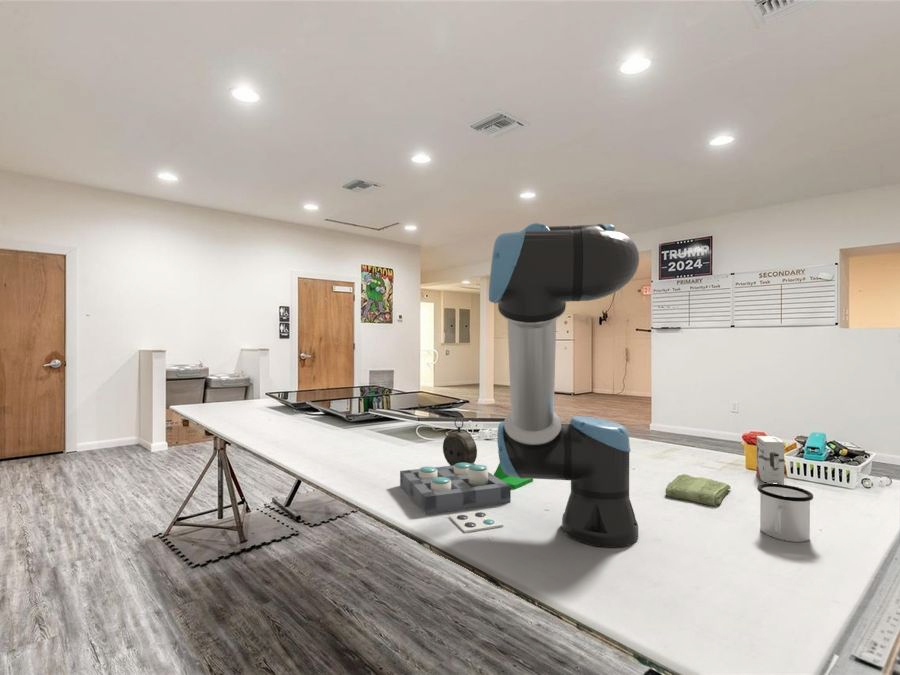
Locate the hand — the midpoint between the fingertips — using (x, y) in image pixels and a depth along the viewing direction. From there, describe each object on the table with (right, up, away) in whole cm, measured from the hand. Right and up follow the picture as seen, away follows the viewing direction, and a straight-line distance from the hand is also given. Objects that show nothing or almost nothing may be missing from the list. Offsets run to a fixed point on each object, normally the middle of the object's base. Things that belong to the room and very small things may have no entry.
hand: (535, 375), depth 125 cm
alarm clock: (-20, -31, +17) cm, 40 cm away
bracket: (-4, -31, +7) cm, 32 cm away
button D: (-19, -29, +3) cm, 35 cm away
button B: (-29, -29, 0) cm, 41 cm away
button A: (-25, -29, -10) cm, 40 cm away
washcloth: (+42, -31, -2) cm, 52 cm away
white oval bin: (+46, -31, -28) cm, 62 cm away
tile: (-17, -30, -22) cm, 41 cm away
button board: (-22, -30, -3) cm, 38 cm away
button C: (-16, -27, -6) cm, 32 cm away
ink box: (+69, -31, +9) cm, 76 cm away
